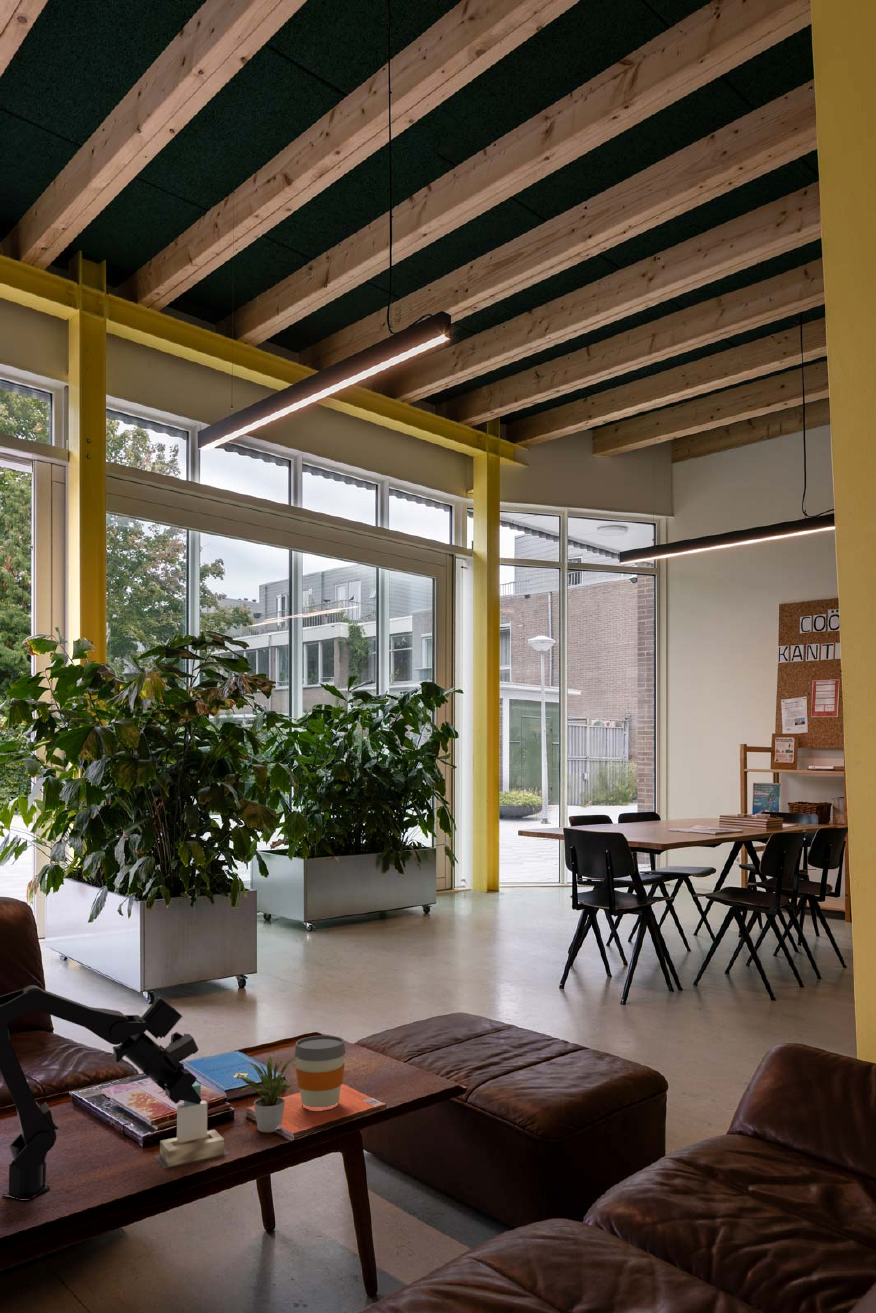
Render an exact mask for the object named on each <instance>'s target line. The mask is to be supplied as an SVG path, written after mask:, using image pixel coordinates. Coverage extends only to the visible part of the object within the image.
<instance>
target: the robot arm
mask: <svg viewBox="0 0 876 1313" xmlns="http://www.w3.org/2000/svg"><path fill="white" fill-rule="evenodd" d="M32 1010H36V1011H38V1012H42V1013H45V1014H48V1015H50V1016H53V1017H56V1018H58V1019H61V1020H64V1021H67V1022H69V1023H72V1024H75V1025H78V1026H80V1027H83V1028H85V1029H87V1030H89V1031H90V1032H91V1033H93V1034H95V1035H96V1036H97V1037H99V1038H101V1039H102V1040H103V1041H106V1042H107V1043H109V1044H111V1045H114V1046H113V1047H112V1050H113V1051H112V1058H113V1060H114V1061H115V1062H116V1063H119V1062H120V1061H121V1060H122V1059H123V1058H124V1057H125V1058H126V1059H128V1060H129V1061H130V1062H131V1063H132V1064H134V1065H135V1066H136V1067H137V1068H138V1069H139V1070H140V1071H141V1072H142V1073H143V1074H145V1076H146V1077H148V1078H150V1080H151V1081H153V1082H154V1083H155V1084H156V1085H157V1086H158V1087H159V1088H160V1089H162V1090H163V1092H164V1093H165V1095H166V1097H168V1098H169V1100H170V1101H172V1102H173V1103H174V1104H175V1105H176V1104H178V1103H179V1102H180V1101H182V1102H184V1101H187V1102H191V1103H195V1104H199V1103H200V1102H201V1101H203V1100H202V1098H200V1096H199V1095H198V1093H197V1092H196V1091H195V1089H194V1088H193V1086H192V1085H193V1084H194V1083H196V1082H197V1077H196V1076H195V1075H194V1074H193V1073H192V1072H190V1070H189V1069H187V1068H185V1066H184V1065H183V1063H182V1061H184V1060H186V1059H187V1058H188V1057H190V1056H192V1055H194V1054H196V1053H197V1052H198V1051H199V1047H198V1045H197V1043H196V1040H195V1039H194V1037H193V1036H192V1035H191V1034H190V1033H186V1032H185V1033H184V1034H183V1035H182V1034H181V1033H180V1032H178V1031H175V1032H174V1033H172V1034H171V1035H170V1042H169V1043H168V1045H167V1046H166V1047H163V1046H162V1045H161V1044H160V1045H159V1044H158V1043H157V1042H155V1041H154V1040H153V1039H152V1038H151V1037H150V1036H149V1035H148V1034H146V1031H147V1032H148V1033H149V1034H150V1035H152V1036H153V1037H154V1038H155V1040H158V1039H159V1038H160V1039H162V1038H163V1039H164V1038H166V1036H167V1035H169V1033H170V1032H171V1031H172V1030H173V1028H174V1027H175V1026H176V1025H177V1024H178V1022H180V1020H181V1019H182V1018H183V1015H182V1014H181V1013H180V1012H178V1011H177V1009H175V1008H174V1007H173V1006H171V1005H170V1004H169V1003H167V1001H165V1000H163V999H162V998H161V997H160V996H158V997H156V998H155V1000H154V1001H153V1003H152V1004H151V1005H150V1007H149V1008H148V1009H147V1010H146V1011H145V1012H144V1013H143V1014H142V1016H140V1015H139V1014H128V1015H127V1014H124V1013H123V1012H121V1011H119V1010H114V1009H108V1008H101V1007H92V1006H88V1005H86V1004H83V1003H80V1002H77V1001H74V1000H72V999H69V998H66V997H64V996H62V995H59V994H56V993H53V992H50V991H48V990H45V989H43V988H40V987H39V986H37V985H34V984H32V985H28V986H25V987H23V988H21V989H20V990H16V991H15V990H14V991H12V992H9V993H7V994H3V995H0V1072H1V1075H2V1078H3V1080H4V1083H5V1085H6V1087H7V1090H8V1092H9V1094H10V1096H11V1099H12V1101H13V1104H14V1107H15V1108H16V1113H17V1119H18V1125H19V1129H20V1130H19V1131H20V1133H19V1135H18V1136H17V1137H16V1138H15V1139H14V1140H13V1141H12V1143H11V1144H10V1145H9V1150H10V1153H11V1156H12V1159H13V1160H12V1161H11V1163H10V1164H9V1165H8V1168H9V1169H8V1191H9V1192H7V1191H6V1192H7V1194H3V1193H2V1194H1V1195H10V1196H12V1197H15V1198H18V1199H30V1198H32V1197H33V1196H35V1195H37V1196H39V1195H41V1194H43V1193H45V1192H46V1191H45V1190H47V1191H49V1190H51V1185H49V1184H46V1182H47V1181H46V1180H47V1179H46V1178H47V1177H46V1176H47V1161H46V1157H47V1154H48V1153H49V1151H51V1150H52V1148H53V1147H54V1146H55V1143H56V1141H57V1133H56V1130H59V1127H58V1125H57V1123H56V1121H55V1119H54V1117H53V1114H52V1111H51V1109H50V1107H49V1105H48V1104H47V1102H44V1103H43V1104H41V1105H39V1104H38V1102H37V1101H36V1099H35V1097H34V1094H33V1092H32V1090H31V1087H30V1085H29V1083H28V1081H27V1078H26V1075H25V1073H24V1071H23V1068H22V1066H21V1063H20V1060H18V1056H17V1055H16V1052H15V1050H14V1047H13V1044H12V1042H11V1035H10V1030H9V1025H8V1023H9V1022H12V1021H14V1020H16V1019H17V1018H19V1017H21V1016H23V1015H24V1014H26V1013H27V1012H30V1011H32ZM44 1191H45V1192H44ZM42 1192H43V1193H42ZM40 1193H41V1194H40ZM38 1194H39V1195H38ZM32 1199H33V1198H32ZM30 1200H31V1199H30Z"/></svg>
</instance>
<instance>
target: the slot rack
mask: <svg viewBox="0 0 876 1313" xmlns="http://www.w3.org/2000/svg"><path fill="white" fill-rule="evenodd" d="M224 1148H225V1138H224V1137H223V1136H222V1135H221V1134H220V1133H218V1131H217V1130H216V1129H210V1130H207V1137H204V1138H200V1139H195V1140H190V1141H185V1142H181V1143H179V1142H178V1141H177V1136H176V1137H172V1138H167V1139H162V1140H159V1155H160V1156H161V1158H162V1159H163V1160H164V1161H165V1163H166V1164H167V1165H168V1167H169V1166H173V1165H177V1164H182V1163H186V1162H191V1161H195V1160H200V1159H204V1158H209V1157H213V1156H218V1155H222V1154H224ZM169 1168H170V1167H169Z"/></svg>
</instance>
